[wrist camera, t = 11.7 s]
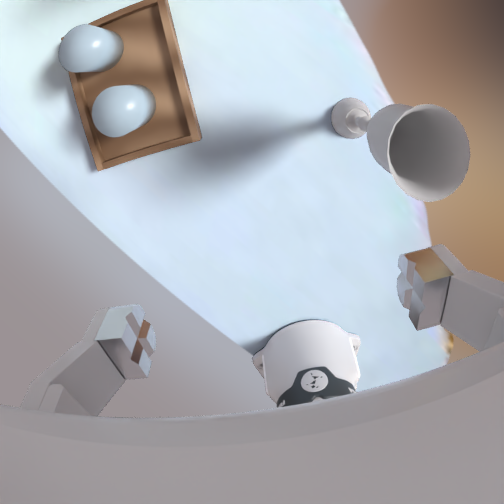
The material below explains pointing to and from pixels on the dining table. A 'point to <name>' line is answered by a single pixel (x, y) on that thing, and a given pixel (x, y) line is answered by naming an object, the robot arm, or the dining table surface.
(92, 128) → the tray
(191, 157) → the dining table surface
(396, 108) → the chalice
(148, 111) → the grey rounded piece
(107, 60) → the white rounded capsule
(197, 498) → the robot arm
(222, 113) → the dining table surface
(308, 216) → the dining table surface
